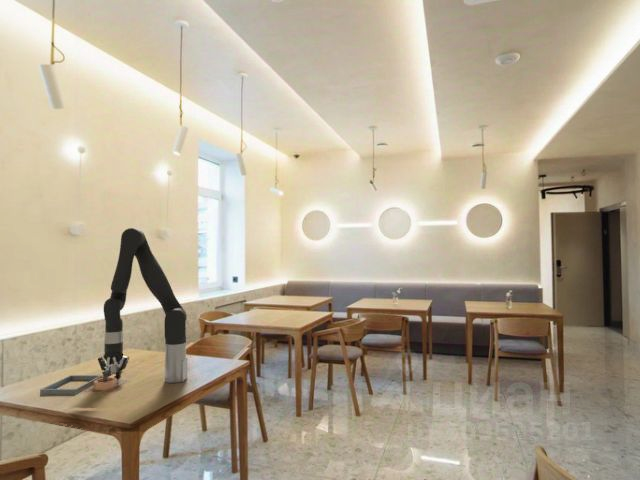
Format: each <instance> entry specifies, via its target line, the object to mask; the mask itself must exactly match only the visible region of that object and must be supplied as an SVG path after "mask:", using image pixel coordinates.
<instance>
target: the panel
mask: <svg viewBox="0 0 640 480" xmlns="http://www.w3.org/2000/svg"><path fill="white" fill-rule="evenodd" d="M108 373H109V371H104V370H103V371H102V372H101V375H103V382H108ZM129 381H130V379H119V380H118V381H117V386H116V387H114V388H112V389H107V390H95V389H94V388H93V385H92V386H90V387H89V388H87V389H85V390H83V393H85V392H86V393H89V392H90V393H92V392H93V393H99V392H103V393H105V392H110V393H111V392H113V391H115V390H117V389H118V388H120V387H122V386H124V384H126V383H128V382H129Z"/></svg>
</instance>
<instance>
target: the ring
mask: <svg viewBox="0 0 640 480" xmlns="http://www.w3.org/2000/svg"><path fill="white" fill-rule="evenodd" d="M117 381H118V380H117V379H116V374H112V373H111V376H109V377H108V382H103V378H100V379H97V380H95V381H93V385H92V386H93V388H94V389H95V390H107V389H112V388H114V387H116V386H117Z"/></svg>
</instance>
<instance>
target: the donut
mask: <svg viewBox="0 0 640 480" xmlns="http://www.w3.org/2000/svg"><path fill="white" fill-rule="evenodd" d="M122 363H123V359H121V365H122ZM110 371H111V375H112V374H116V368H115V366H114V364H112V367H111V370H110ZM122 372H123V370H121V373H122Z"/></svg>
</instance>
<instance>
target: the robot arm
mask: <svg viewBox="0 0 640 480" xmlns="http://www.w3.org/2000/svg"><path fill="white" fill-rule="evenodd" d="M120 238H121V239H120V247H119V253H118V254H119V255H118V259H117V263H116V268H115V271H114V274H113V277H112V280H111V281H112V282H111V285H110V290H111V293H110V296H109V297H110V298H108V299H106V300H105V302H104V304H103V316H104V321H105V325H104V326H105V327H104V328H105V329H104V330H105V331H104V349H103V350H104V354H103V356H100V357H98V358H97V362H98V363H99V364H98V365H99V367H100V369H101V370H102V372H104V371H109V373H108V377H109V376H111V375H112V373H111V371H110V370H111V367H112V364H114V366H115V368H116V379H117V380H121V378H122V372H121V370H122V371H124V370H125V369H126V367H127V366H128V363H129V360H130V356H125V355H124V352H123V351H124V332H123V331H124V330H123V328H124V327H123V319H122V318H121V312H122V310H124V307H125V305H126V302H127V301H126V300H127V292H128V289H129V284H130V281H131V278H132V277H131V276H132V270H133V262H134V257H135V259H136V260H137V263H138V266H139V270H140V274H141V277H142V279H143V280H144V283H145V285H146V287H147V288H148V290H149V292H150V293H151V294H152V295H153V297H155V299H156V300H157V301H158V302H159V303H160V305H161V309H162V310H163V312H164V313H165V316H164V326H163V327H164V341H165V342H164V345H165V346H164V347H165V349H164V351H165V353H164V382H165V383H169V384H171V383H173V384H174V383H181V382H184V381H186V380H187V379H188V357H187V335H186V332H187V331H186V328H187V327H186V322H187V318H188V317H187V316H188V315H187V313H186V310H185V309H184V308H183V306H182V305H181V303H180V302H179V300H178V299H177V298H176V295H175V294H174V291H173V289H172V286H171V284H170V282H169V280H168V277H167V276H166V274H165V271H164V270H163V268H162V266H161V264H159V262H158V260H157V259H156V257H155V255H154V254H153V253H152V250H151V248H150V245H149V242H148V240H147V238H146V235H145V233H144V232H143V231H142V230H141V229H138V228H135V227H130V228H126V229H125V230H124V231H123V232H122V234H121V237H120ZM121 359H123V363H122V365H121Z"/></svg>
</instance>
